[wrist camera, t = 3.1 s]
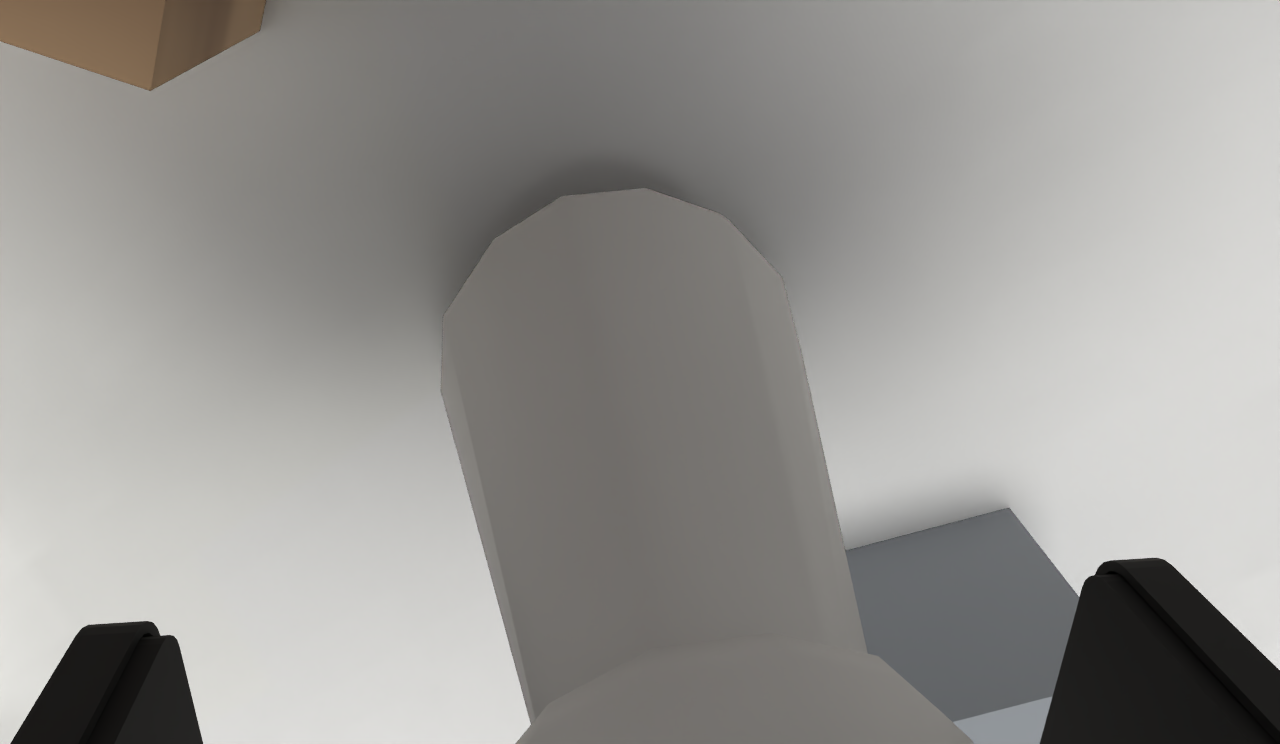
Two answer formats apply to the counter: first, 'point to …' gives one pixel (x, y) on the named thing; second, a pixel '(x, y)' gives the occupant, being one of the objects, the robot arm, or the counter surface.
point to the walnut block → (130, 33)
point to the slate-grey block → (969, 621)
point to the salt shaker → (659, 488)
